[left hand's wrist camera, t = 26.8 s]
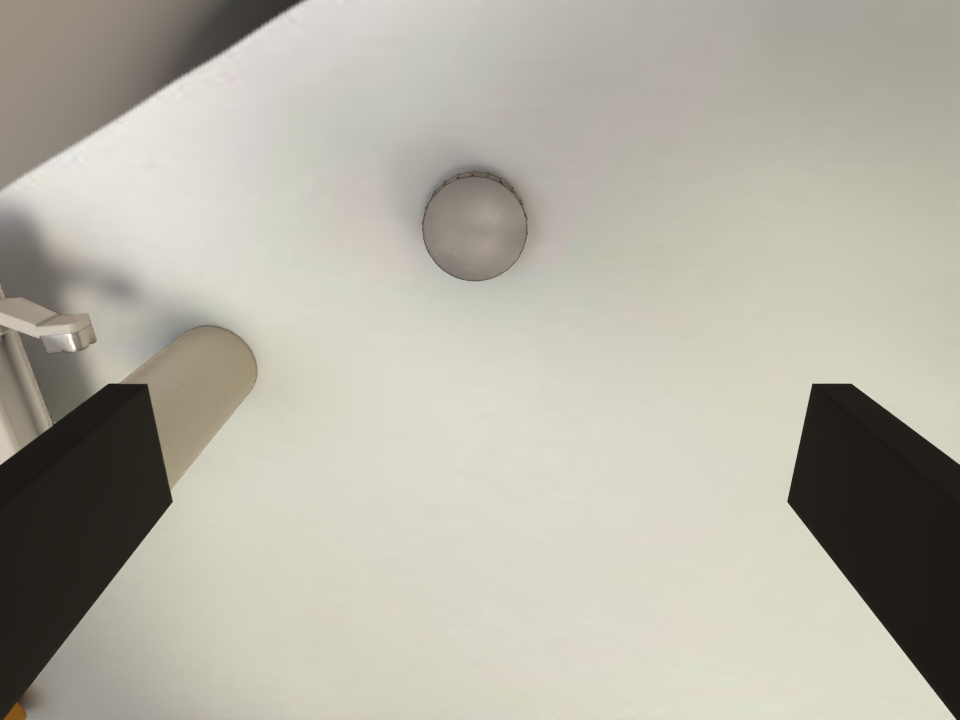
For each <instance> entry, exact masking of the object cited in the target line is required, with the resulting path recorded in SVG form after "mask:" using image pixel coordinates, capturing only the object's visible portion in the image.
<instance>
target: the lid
mask: <svg viewBox="0 0 960 720" xmlns="http://www.w3.org/2000/svg"><path fill="white" fill-rule="evenodd" d="M432 196H433V197H432V199H431V200H430V202H429V204H427V206H426V207H425V210H426V211H425V215H424V219H423V222H422V224H423V239H424V242H425V245H426V248H427V251H428V253H429V254H430V256H431V258H432V259H433V261H434V262H435V263H436V264H437V265H438V266H439V267H440V268H441V269H442V270H443V271H445V272H446V273H448V274H450V275H452V276H454V277H456V278H459V279H462V280H467V281H483V280H488V279H491V278H494V277H496V276H498V275H500V274H502V273H504V272H505V271H506V270H508V269H509V268H510V267H511V266H512V265H513V264H514V263H515V262H516V260H517V259H518V258H519V256H520V254H521V252H522V250H523V249H524V245H525V242H526V237H527V235H528V233H527V221H526V220H527V216H526V214H525V212H524V210H523V207H522V205H523V203H522V201H521V199H520V200H519V198H518V197H517V195H516V193H515V191H514V189H513V187H512V188H511V187H510V186H509V185H508V184H506V183H505V182H504V181H503V180H502V178H500V179H499V178H497V177H495V176H493V175H490V174H489V173H488V172H487V173H480V172H474V171H472V172H469V173H464V174H460V175H459V174H457V176H455V177H453V178H451V179H449V180H448V181H446V180H445V181H444V183H443V185H441V186H440V187H439V189H438V190H437V191H434V193H433V195H432Z"/></svg>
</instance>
